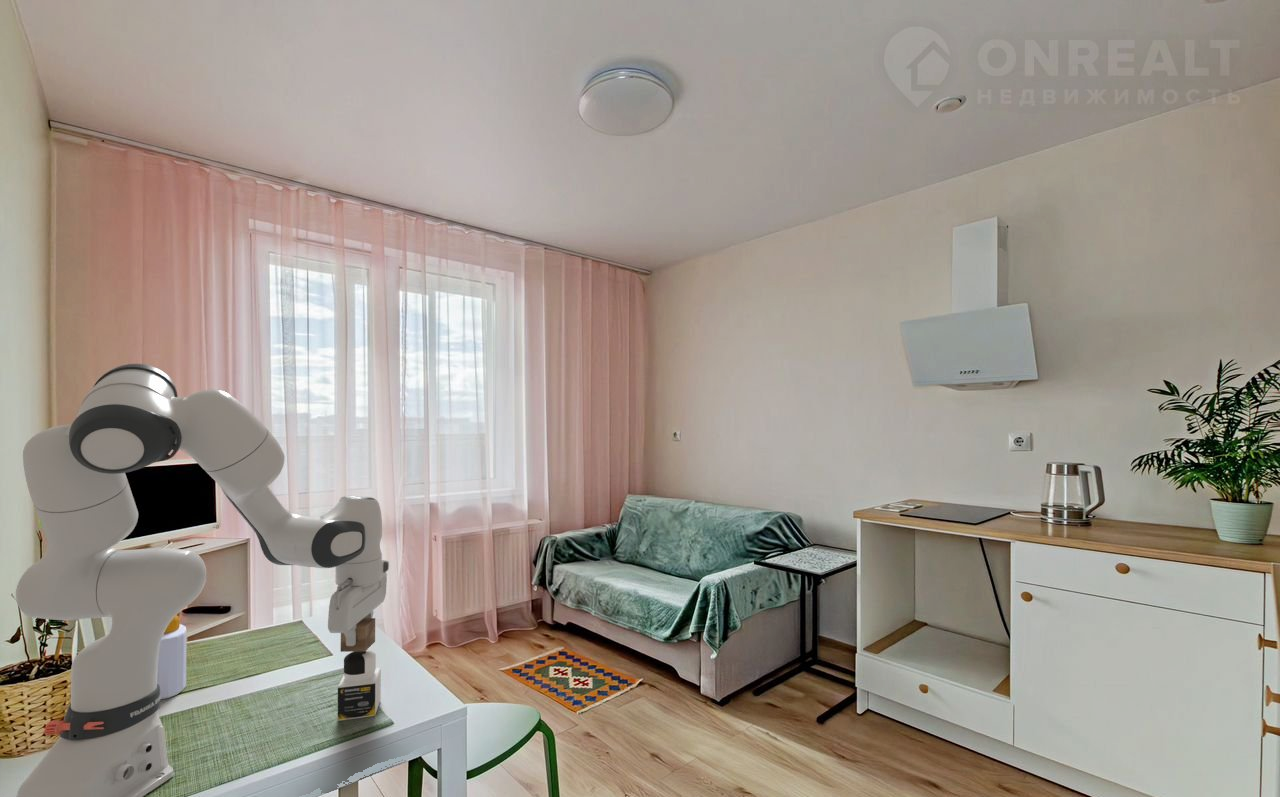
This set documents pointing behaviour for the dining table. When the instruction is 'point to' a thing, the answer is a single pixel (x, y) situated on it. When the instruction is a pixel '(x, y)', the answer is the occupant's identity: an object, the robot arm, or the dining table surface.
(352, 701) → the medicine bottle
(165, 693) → the soap bottle
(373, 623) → the walnut cube
